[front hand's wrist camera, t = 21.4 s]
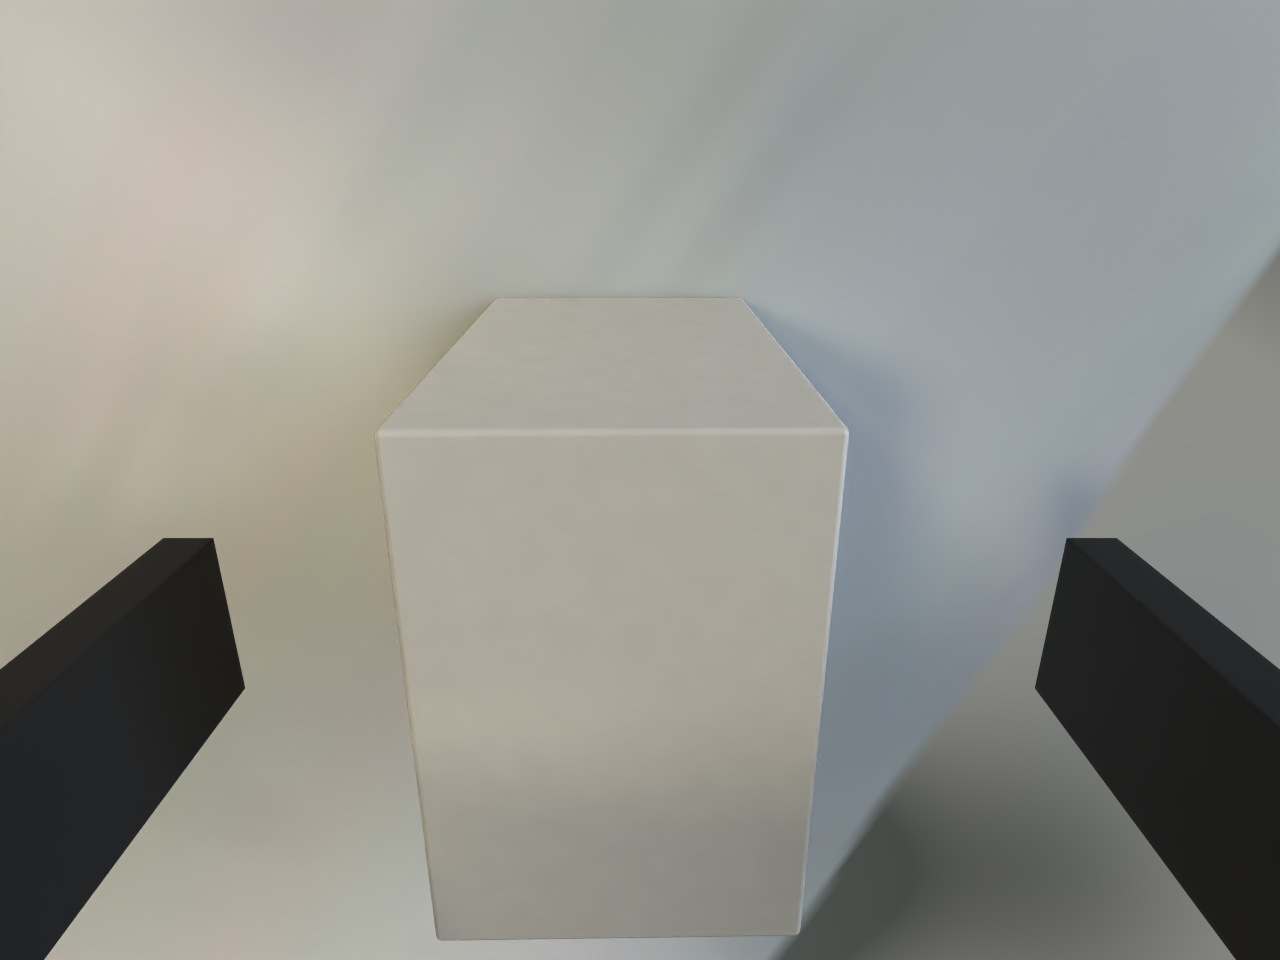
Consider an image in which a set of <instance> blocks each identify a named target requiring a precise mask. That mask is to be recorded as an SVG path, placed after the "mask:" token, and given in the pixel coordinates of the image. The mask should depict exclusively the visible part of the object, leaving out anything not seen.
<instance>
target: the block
mask: <svg viewBox="0 0 1280 960" xmlns="http://www.w3.org/2000/svg"><path fill="white" fill-rule="evenodd" d="M848 440H849V432H848V429H847V427H846V426H845V425H844V424H843V422H842V421H841V420H840V419H839V417H838V416H837V415H836V414H835V412H834V411H833V410H832V409H831V408H830V406H829V405H828V404H827V403H826V401H825V400H824V399H823V398H822V397H821V395H820V394H819V393H818V392H817V390H816V389H815V388H814V387H813V385H812V384H811V383H810V382H809V381H808V379H807V378H806V377H805V376H804V374H803V373H802V372H801V371H800V369H799V368H798V367H797V366H796V365H795V363H794V362H793V361H792V360H791V358H790V357H789V356H788V355H787V354H786V352H785V351H784V350H783V349H782V347H781V346H780V345H779V344H778V342H777V341H776V340H775V339H774V338H773V336H772V335H771V334H770V333H769V331H768V330H767V329H766V328H765V327H764V325H763V324H762V323H761V322H760V320H759V319H758V318H757V317H756V315H755V314H754V313H753V312H752V311H751V309H750V308H749V307H748V306H747V304H746V303H745V302H744V301H743V299H741V298H497V299H495V300H494V301H493V302H492V303H491V304H490V305H489V307H488V308H487V309H486V310H485V311H484V312H483V313H482V314H481V315H480V316H479V318H478V319H477V320H476V321H475V322H474V323H473V324H472V325H471V326H470V327H469V328H468V330H467V331H466V332H465V333H464V334H463V335H462V336H461V337H460V338H459V339H458V341H457V342H456V343H455V344H454V345H453V346H452V347H451V348H450V349H449V350H448V352H447V353H446V354H445V355H444V356H443V357H442V358H441V359H440V360H439V361H438V362H437V364H436V365H435V366H434V367H433V368H432V369H431V370H430V371H429V372H428V373H427V375H426V376H425V377H424V378H423V379H422V380H421V381H420V382H419V383H418V384H417V386H416V387H415V388H414V389H413V390H412V391H411V392H410V393H409V394H408V395H407V396H406V398H405V399H404V400H403V401H402V402H401V403H400V404H399V405H398V406H397V407H396V409H395V410H394V411H393V412H392V413H391V414H390V415H389V416H388V417H387V418H386V420H385V421H384V422H383V423H382V424H381V425H380V426H379V427H378V428H377V429H376V431H375V434H374V441H375V449H376V457H377V465H378V473H379V481H380V489H381V497H382V505H383V513H384V521H385V529H386V537H387V545H388V553H389V561H390V569H391V577H392V585H393V593H394V601H395V609H396V617H397V625H398V633H399V641H400V649H401V657H402V665H403V673H404V681H405V689H406V697H407V705H408V713H409V721H410V729H411V737H412V745H413V753H414V761H415V769H416V777H417V785H418V793H419V801H420V809H421V817H422V825H423V833H424V841H425V849H426V857H427V865H428V873H429V881H430V889H431V897H432V905H433V913H434V921H435V929H436V936H437V938H438V939H439V940H512V939H583V938H654V937H725V936H795V935H797V934H799V932H800V926H801V916H802V906H803V896H804V886H805V875H806V865H807V855H808V845H809V835H810V825H811V815H812V805H813V794H814V784H815V774H816V764H817V754H818V744H819V734H820V724H821V713H822V703H823V693H824V683H825V673H826V663H827V653H828V643H829V632H830V622H831V612H832V602H833V592H834V582H835V572H836V562H837V551H838V541H839V531H840V521H841V511H842V501H843V491H844V480H845V470H846V460H847V450H848Z"/></svg>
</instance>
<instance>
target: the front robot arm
mask: <svg viewBox="0 0 1280 960" xmlns="http://www.w3.org/2000/svg"><path fill="white" fill-rule="evenodd" d="M244 689H245V686H244V681H243V676H242V671H241V667H240V662H239V657H238V653H237V648H236V643H235V638H234V634H233V629H232V624H231V620H230V615H229V610H228V605H227V601H226V596H225V591H224V587H223V582H222V577H221V572H220V568H219V563H218V558H217V554H216V549H215V544H214V539H213V538H163V539H162V540H161V541H159V542H158V543H157V544H156V545H154V546H153V547H152V548H151V549H149V550H148V551H147V552H146V553H144V554H143V555H142V556H141V557H139V558H138V559H137V560H136V561H134V562H133V563H132V564H131V565H130V566H128V567H127V568H126V569H125V570H123V571H122V572H121V573H120V574H118V575H117V576H116V577H115V578H113V579H112V580H111V581H110V582H108V583H107V584H106V585H105V586H103V587H102V588H101V589H100V590H98V591H97V592H96V593H95V594H93V595H92V596H91V597H90V598H89V599H87V600H86V601H85V602H84V603H82V604H81V605H80V606H79V607H77V608H76V609H75V610H74V611H72V612H71V613H70V614H69V615H67V616H66V617H65V618H64V619H62V620H61V621H60V622H59V623H57V624H56V625H55V626H54V627H52V628H51V629H50V630H49V631H48V632H46V633H45V634H44V635H43V636H41V637H40V638H39V639H38V640H36V641H35V642H34V643H33V644H31V645H30V646H29V647H28V648H26V649H25V650H24V651H23V652H21V653H20V654H19V655H18V656H16V657H15V658H14V659H13V660H12V661H10V662H9V663H8V664H7V665H5V666H4V667H3V668H2V669H0V960H44V959H45V958H46V956H47V955H48V954H49V952H50V951H51V950H52V948H53V947H54V946H55V944H56V943H57V941H58V940H59V939H60V937H61V936H62V935H63V933H64V932H65V931H66V929H67V928H68V927H69V925H70V924H71V923H72V921H73V920H74V918H75V917H76V916H77V914H78V913H79V912H80V910H81V909H82V908H83V906H84V905H85V904H86V902H87V901H88V900H89V898H90V897H91V896H92V894H93V893H94V891H95V890H96V889H97V887H98V886H99V885H100V883H101V882H102V881H103V879H104V878H105V877H106V875H107V874H108V873H109V871H110V870H111V869H112V867H113V866H114V864H115V863H116V862H117V860H118V859H119V858H120V856H121V855H122V854H123V852H124V851H125V850H126V848H127V847H128V846H129V844H130V843H131V841H132V840H133V839H134V837H135V836H136V835H137V833H138V832H139V831H140V829H141V828H142V827H143V825H144V824H145V823H146V821H147V820H148V819H149V817H150V816H151V814H152V813H153V812H154V810H155V809H156V808H157V806H158V805H159V804H160V802H161V801H162V800H163V798H164V797H165V796H166V794H167V793H168V792H169V790H170V789H171V787H172V786H173V785H174V783H175V782H176V781H177V779H178V778H179V777H180V775H181V774H182V773H183V771H184V770H185V769H186V767H187V766H188V764H189V763H190V762H191V760H192V759H193V758H194V756H195V755H196V754H197V752H198V751H199V750H200V748H201V747H202V746H203V744H204V743H205V742H206V740H207V739H208V737H209V736H210V735H211V733H212V732H213V731H214V729H215V728H216V727H217V725H218V724H219V723H220V721H221V720H222V719H223V717H224V716H225V715H226V713H227V712H228V710H229V709H230V708H231V706H232V705H233V704H234V702H235V701H236V700H237V698H238V697H239V696H240V694H241V693H242V692H243V690H244ZM1035 689H1036V690H1037V692H1038V693H1039V694H1040V696H1041V697H1042V698H1043V700H1044V701H1045V702H1046V704H1047V705H1048V706H1049V708H1050V709H1051V710H1052V712H1053V713H1054V715H1055V716H1056V717H1057V719H1058V720H1059V721H1060V723H1061V724H1062V725H1063V727H1064V728H1065V729H1066V731H1067V732H1068V733H1069V735H1070V736H1071V737H1072V739H1073V740H1074V741H1075V743H1076V744H1077V746H1078V747H1079V748H1080V750H1081V751H1082V752H1083V754H1084V755H1085V756H1086V758H1087V759H1088V760H1089V762H1090V763H1091V764H1092V766H1093V767H1094V769H1095V770H1096V771H1097V773H1098V774H1099V775H1100V777H1101V778H1102V779H1103V781H1104V782H1105V783H1106V785H1107V786H1108V787H1109V789H1110V790H1111V791H1112V793H1113V794H1114V796H1115V797H1116V798H1117V800H1118V801H1119V802H1120V804H1121V805H1122V806H1123V808H1124V809H1125V810H1126V812H1127V813H1128V814H1129V816H1130V817H1131V819H1132V820H1133V821H1134V823H1135V824H1136V825H1137V827H1138V828H1139V829H1140V831H1141V832H1142V833H1143V835H1144V836H1145V837H1146V839H1147V840H1148V841H1149V843H1150V844H1151V846H1152V847H1153V848H1154V850H1155V851H1156V852H1157V854H1158V855H1159V856H1160V858H1161V859H1162V860H1163V862H1164V863H1165V864H1166V866H1167V867H1168V868H1169V870H1170V871H1171V873H1172V874H1173V875H1174V877H1175V878H1176V879H1177V881H1178V882H1179V883H1180V885H1181V886H1182V887H1183V889H1184V890H1185V891H1186V893H1187V894H1188V896H1189V897H1190V898H1191V900H1192V901H1193V902H1194V904H1195V905H1196V906H1197V908H1198V909H1199V910H1200V912H1201V913H1202V914H1203V916H1204V917H1205V918H1206V920H1207V921H1208V923H1209V924H1210V925H1211V927H1212V928H1213V929H1214V931H1215V932H1216V933H1217V935H1218V936H1219V937H1220V939H1221V940H1222V941H1223V943H1224V944H1225V945H1226V947H1227V948H1228V949H1229V951H1230V952H1231V954H1232V955H1233V956H1234V958H1235V959H1236V960H1280V669H1278V668H1277V667H1276V666H1275V665H1273V664H1272V663H1271V662H1270V661H1268V660H1267V659H1266V658H1265V657H1263V656H1262V655H1261V654H1260V653H1259V652H1257V651H1256V650H1255V649H1254V648H1252V647H1251V646H1250V645H1249V644H1247V643H1246V642H1245V641H1244V640H1242V639H1241V638H1240V637H1239V636H1237V635H1236V634H1235V633H1234V632H1232V631H1231V630H1230V629H1229V628H1227V627H1226V626H1225V625H1224V624H1223V623H1221V622H1220V621H1219V620H1218V619H1216V618H1215V617H1214V616H1213V615H1211V614H1210V613H1209V612H1208V611H1206V610H1205V609H1204V608H1203V607H1201V606H1200V605H1199V604H1198V603H1196V602H1195V601H1194V600H1193V599H1191V598H1190V597H1189V596H1188V595H1187V594H1185V593H1184V592H1183V591H1181V590H1180V589H1179V588H1178V587H1177V586H1175V585H1174V584H1173V583H1172V582H1170V581H1169V580H1168V579H1166V578H1165V577H1164V576H1163V575H1162V574H1160V573H1159V572H1158V571H1157V570H1155V569H1154V568H1153V567H1152V566H1150V565H1149V564H1148V563H1147V562H1146V561H1144V560H1143V559H1142V558H1140V557H1139V556H1138V555H1137V554H1136V553H1134V552H1133V551H1132V550H1131V549H1129V548H1128V547H1127V546H1126V545H1124V544H1123V543H1122V542H1121V541H1119V540H1118V539H1117V538H1067V539H1066V544H1065V549H1064V554H1063V558H1062V563H1061V568H1060V572H1059V577H1058V582H1057V587H1056V591H1055V596H1054V601H1053V605H1052V610H1051V615H1050V620H1049V625H1048V629H1047V634H1046V638H1045V643H1044V648H1043V653H1042V657H1041V662H1040V667H1039V671H1038V676H1037V681H1036V686H1035Z"/></svg>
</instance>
